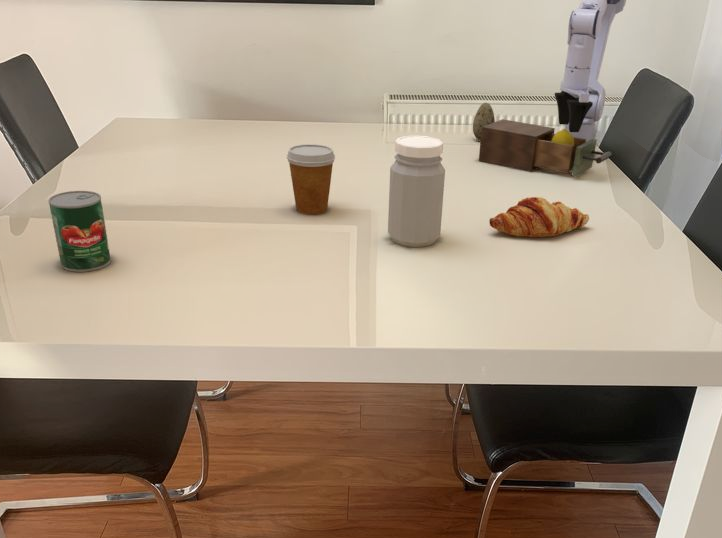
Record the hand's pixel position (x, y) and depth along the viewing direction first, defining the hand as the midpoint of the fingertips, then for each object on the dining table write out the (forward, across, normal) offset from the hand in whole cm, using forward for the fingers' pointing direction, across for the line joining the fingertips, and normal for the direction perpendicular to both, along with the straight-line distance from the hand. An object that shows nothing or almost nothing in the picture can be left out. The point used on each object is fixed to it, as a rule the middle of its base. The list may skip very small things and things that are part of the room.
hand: (568, 128), depth 179 cm
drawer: (+9, -1, -1) cm, 9 cm away
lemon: (+8, 0, +1) cm, 9 cm away
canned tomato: (+10, -55, +100) cm, 115 cm away
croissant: (+10, -42, +18) cm, 47 cm away
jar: (+10, -45, +44) cm, 64 cm away
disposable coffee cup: (+10, -28, +62) cm, 69 cm away
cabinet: (+10, +8, +10) cm, 16 cm away
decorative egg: (+10, +29, +13) cm, 34 cm away
